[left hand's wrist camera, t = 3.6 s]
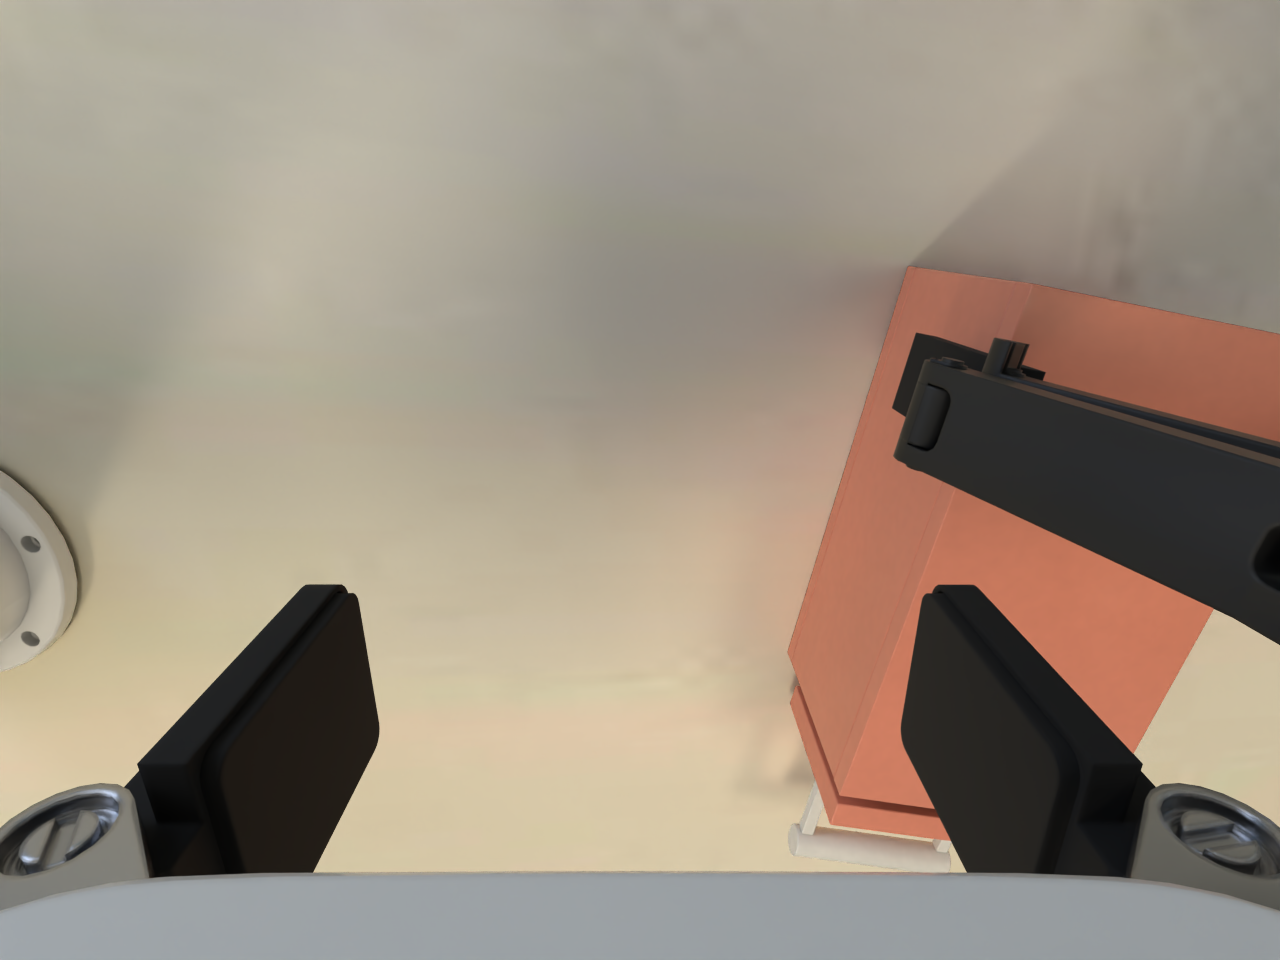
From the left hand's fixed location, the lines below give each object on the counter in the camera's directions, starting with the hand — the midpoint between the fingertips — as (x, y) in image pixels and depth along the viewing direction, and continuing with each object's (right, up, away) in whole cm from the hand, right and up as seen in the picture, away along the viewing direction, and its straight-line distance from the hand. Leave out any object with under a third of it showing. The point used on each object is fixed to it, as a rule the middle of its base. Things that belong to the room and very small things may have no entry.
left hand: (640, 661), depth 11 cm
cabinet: (+15, +2, +22) cm, 27 cm away
